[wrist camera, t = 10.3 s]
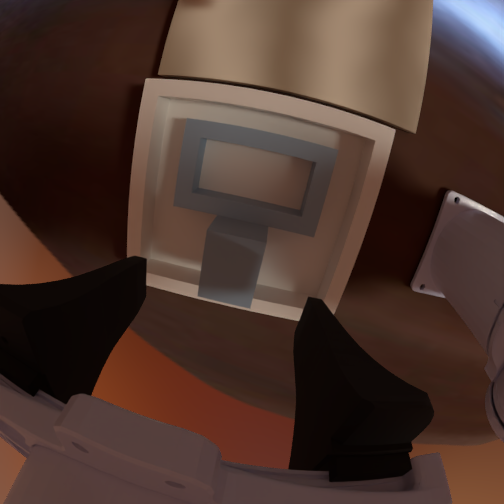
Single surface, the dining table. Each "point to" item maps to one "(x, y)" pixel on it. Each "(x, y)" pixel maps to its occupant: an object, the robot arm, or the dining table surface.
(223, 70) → the tan square tile
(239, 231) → the grey blocky piece
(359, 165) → the tray
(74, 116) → the dining table surface
